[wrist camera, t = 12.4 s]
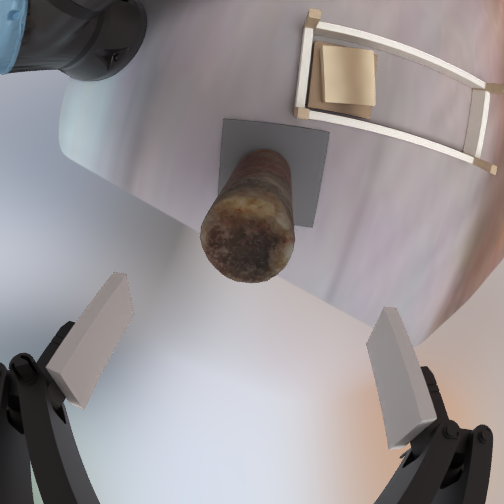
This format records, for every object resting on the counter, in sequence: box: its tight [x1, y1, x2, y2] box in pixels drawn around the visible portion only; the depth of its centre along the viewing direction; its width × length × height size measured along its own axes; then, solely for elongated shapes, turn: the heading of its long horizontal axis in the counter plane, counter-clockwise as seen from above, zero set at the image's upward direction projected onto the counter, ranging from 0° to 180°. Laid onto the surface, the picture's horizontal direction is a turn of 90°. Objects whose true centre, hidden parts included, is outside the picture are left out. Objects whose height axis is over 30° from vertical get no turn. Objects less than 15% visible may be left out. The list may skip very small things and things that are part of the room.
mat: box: [218, 119, 330, 228], centre depth 38 cm, size 14×14×1 cm
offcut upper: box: [319, 45, 375, 106], centre depth 27 cm, size 6×7×3 cm
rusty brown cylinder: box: [200, 149, 295, 283], centre depth 29 cm, size 8×7×20 cm
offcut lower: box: [306, 41, 377, 119], centre depth 30 cm, size 8×9×3 cm
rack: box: [293, 8, 504, 175], centre depth 27 cm, size 28×13×8 cm, turn 85°
